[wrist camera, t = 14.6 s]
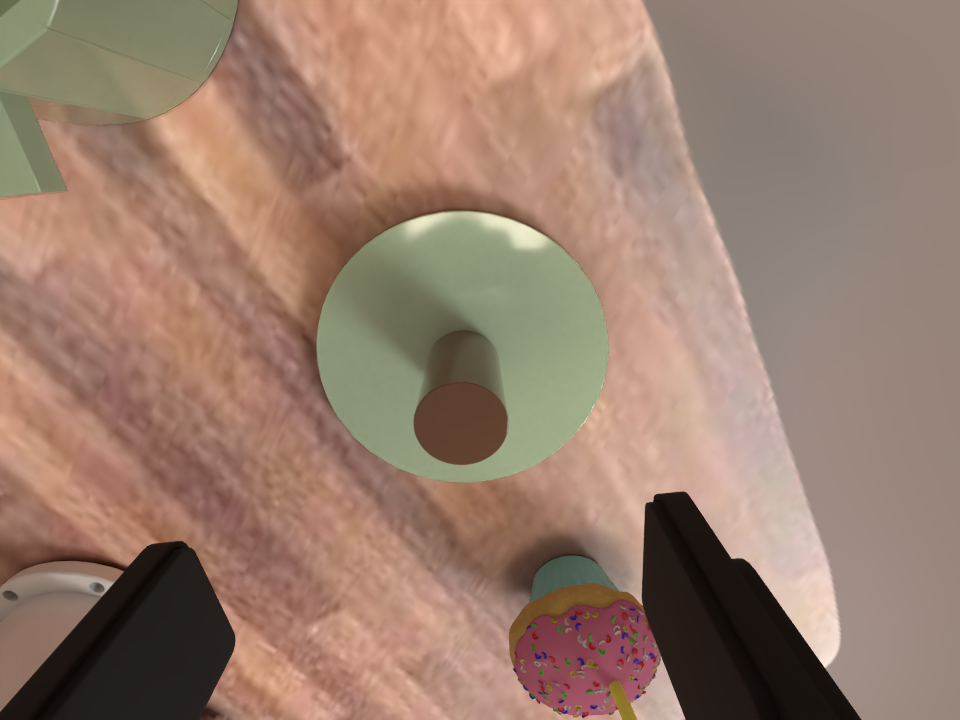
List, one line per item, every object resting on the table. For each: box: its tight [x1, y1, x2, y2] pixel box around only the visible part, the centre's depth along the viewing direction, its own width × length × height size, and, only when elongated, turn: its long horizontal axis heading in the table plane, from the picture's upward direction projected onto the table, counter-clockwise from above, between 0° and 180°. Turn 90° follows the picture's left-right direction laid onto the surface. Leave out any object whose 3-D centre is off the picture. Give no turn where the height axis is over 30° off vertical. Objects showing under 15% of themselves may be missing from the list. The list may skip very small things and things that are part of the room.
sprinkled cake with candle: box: [509, 555, 661, 720], centre depth 24 cm, size 9×8×12 cm
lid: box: [316, 210, 609, 483], centre depth 20 cm, size 15×15×7 cm
